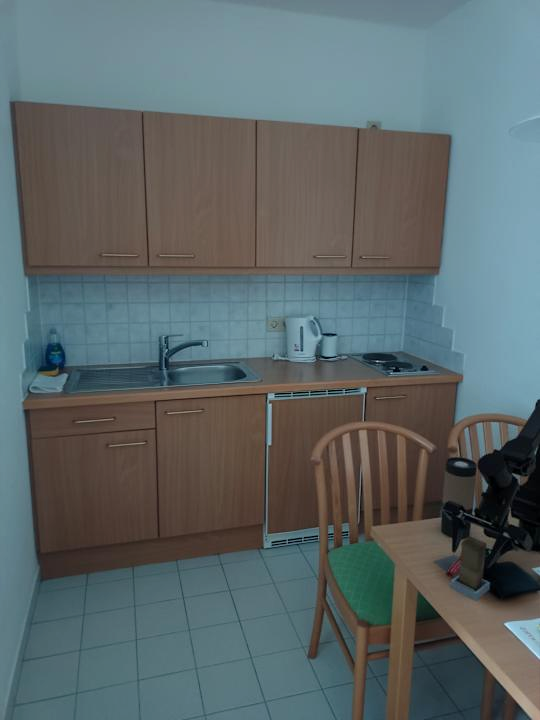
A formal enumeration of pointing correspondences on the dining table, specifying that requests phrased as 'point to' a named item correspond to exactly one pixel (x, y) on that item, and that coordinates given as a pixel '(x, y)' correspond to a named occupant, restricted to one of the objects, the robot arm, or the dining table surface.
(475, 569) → the olive tall block
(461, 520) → the robot arm
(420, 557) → the dining table surface
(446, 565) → the mat
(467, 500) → the travel mug
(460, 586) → the socket block
